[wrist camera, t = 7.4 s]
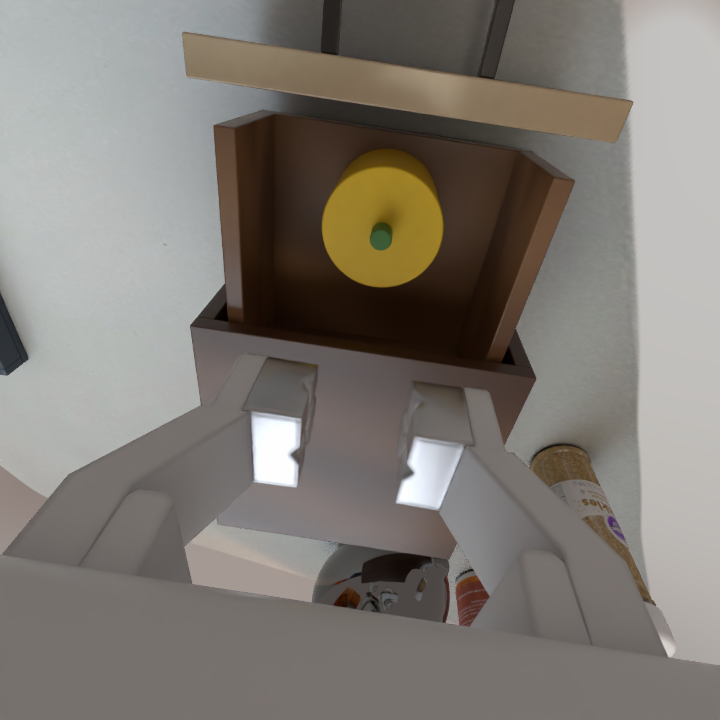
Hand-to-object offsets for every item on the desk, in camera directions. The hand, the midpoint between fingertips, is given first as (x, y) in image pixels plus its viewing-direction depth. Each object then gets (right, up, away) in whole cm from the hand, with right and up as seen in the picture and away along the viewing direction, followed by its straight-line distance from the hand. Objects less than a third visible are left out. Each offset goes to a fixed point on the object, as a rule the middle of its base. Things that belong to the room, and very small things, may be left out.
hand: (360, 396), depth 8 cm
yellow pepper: (+1, +9, +12) cm, 15 cm away
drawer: (+1, +10, +13) cm, 16 cm away
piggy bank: (+2, -17, +33) cm, 37 cm away
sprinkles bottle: (+16, -7, +25) cm, 31 cm away
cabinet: (0, 0, +21) cm, 21 cm away
